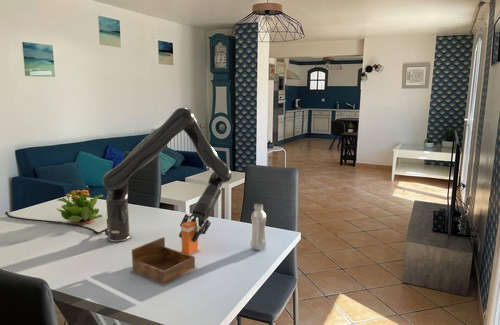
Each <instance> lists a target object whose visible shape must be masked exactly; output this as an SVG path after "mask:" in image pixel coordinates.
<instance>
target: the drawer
mask: <svg viewBox="0 0 500 325" xmlns="http://www.w3.org/2000/svg"><path fill="white" fill-rule="evenodd" d="M131 261H132V262H131V263H132V272H135V273H137V274H139V275H142V276H144V277H146V278H148V279H151V280H153V281H155V282H158V283H160V284H162V285H166V284H168V283H169V282H171V281H173V280H175V279H177V278H179V277H182V276H183V275H185V274H186V273H188V272H190V271H192V270H195V269H196V257H195V256H193V255H191V254H189V255H188V254H185V253H182V251H179V250H176V249H173V248H170V247H167V246H166V240H165V237H164V236H163V237H159V238H158V239H155V240H153V241H151V242H147V243H144V244H143V245H140V246H137V247H135V248H132V249H131Z"/></svg>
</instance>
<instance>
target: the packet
mask: <svg viewBox="0 0 500 325" xmlns="http://www.w3.org/2000/svg"><path fill="white" fill-rule="evenodd" d="M196 223H197V222H194V221H188V222H185V223H183V224H181V223H180V224H181V226H180V232H181V236H182V238H181V252H182V253H185V254H188V255H191V254H193V253H196V252H198V251H199V243H198V242H199V240H198V239H199V238H198V239H197V241H196V242H193V241H192V240H191V239H192V237H193V235H194V233H195V232H196Z"/></svg>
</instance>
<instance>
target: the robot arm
mask: <svg viewBox="0 0 500 325" xmlns="http://www.w3.org/2000/svg"><path fill="white" fill-rule="evenodd" d="M194 114H195V113H194V112H193V111H192V109H190V108H189V107H178V108H176V109H174V111H173V112H172V114H171V115H169V117H168V118H167V119H166V120H165V122H163V124H161V125H160V126H159V127H158V128H157V129H155V130H154V131H152V132H151V133H150V134H148V135H147V136H146V137H144V139H143V140H141V141H140V142H139V143H138V144H137V145H136V146H135V147H134V148H133V149H132V150H131V151H130V152H129V153H128V155H126V157H125V158H124V159H123V160H121V161H120V163H118V164H117V165H116V166H115V167H113V168H112V169H110V170H108V171H107V172H106V173H105V174H104V175H103V177H102V185H103V187H104V188H105V189H106V190H107V196H106V198H105V199H106V200H105V202H106V203H105V204H106V216H107V218H106V228H104V229H102V230H100V231H97V230H95V229H94V228H91V227H88V226H85V225H78V224H75V223H74V222H73V223H72V222H66V221H58V220H48V219H36V218H35V219H34V218H24V217H20V216H14V215H10V214H9V212H8V211H5V212H4V215H6V217H7V218H10V219H15V220H22V221H30V222H40V223H49V224H50V223H51V224H61V225H68V226H73V227H78V228H81V229H86V230H89V231H91V232H93V233H94V234H96V235H100V234H103V233H104V235H105V236H106V237H107V239H108V241H109V242H113V243H120V242H126V241H128V240H129V239H130V238H131V234H130V219H129V218H130V216H129V203H128V202H129V200H128V197H129V179H130V178H131V177H132V176H133V175H134V174H135V173H136V172H138V171H140V169H143V168H144V167H145V166H146V165H148V164H149V163H150V162H151V161H153V160H154V159H155V158H156V157H158V156H159V155H160V153H162V151H163V150H164V149H165V148H166V147H167V146H168V144H169V143H170V142H171V140H172V139H174V138H175V137H176V136H177V135H178V134H180V133H181V132H183V131H184V132H185V134H186V135H187V137H188V138H189V139H190V141H191V143H192V145H193V147H194V150H195V151H196V153H197V155H198V156H199V158H200V159H201V161H202V162H203V164H204V166H206V168H209V169H211V170H212V171H213V172H212V173H211V175H210V176H209V179H208V182H207V185H206V187H205V188H204V191H203V193H202V194H201V195H200V197H199V198H198V200H197V202H196V203H195V205H194V207H193V209H192V212H191V214H190V215H188V213H187V214H186V213H185V214H184V216H183V218H182V220H181V222H180V224H179V226H180V227H181V224H183V223H185V222H188V221H194V222H197V223H196V232H195V233H194V235H193V237H192V239H191V240H192V241H193V242H196V241H197V239H199V238H200V235H205V234H206V233H207V231H208V230H209V228H210V226H211V224H212V222H211V221H210V220H209V217H210V215H211V214H212V211H213V210H214V208H215V206H216V203H217V202H218V199H219V197H220V195H221V193H222V189H221V187H222V185H224V184H225V183H226V184H227V183H228V182H230V181H231V179H232V172H231V169H230V168H229V167H228V165H227V164H226V163H225V162H224V161H223V160H221V159H220V157H219V156H218V154H217V152H216V151H215V149H214V148H213V147H212V146H211V144H210V142H209V141H208V140H207V138H206V137H205V135H204V133H203V132H202V130H201V128H200V126H199V124H198V122H197V119H196V117H195V115H194ZM178 237H179V238H180V239H182V236H181V231H180V232H179V233H178Z"/></svg>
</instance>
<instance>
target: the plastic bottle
mask: <svg viewBox="0 0 500 325" xmlns="http://www.w3.org/2000/svg"><path fill="white" fill-rule="evenodd" d="M253 209H254V211H252V213H251V216H250V219H251V230H252V231H251V232H252V233H251V239H250V247H251V248H252V250H255V251H261V250H264V249H266V246H267V240H266V222H267V214H266V212H265V211H264V204H262V203H255V204H254V206H253Z"/></svg>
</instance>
